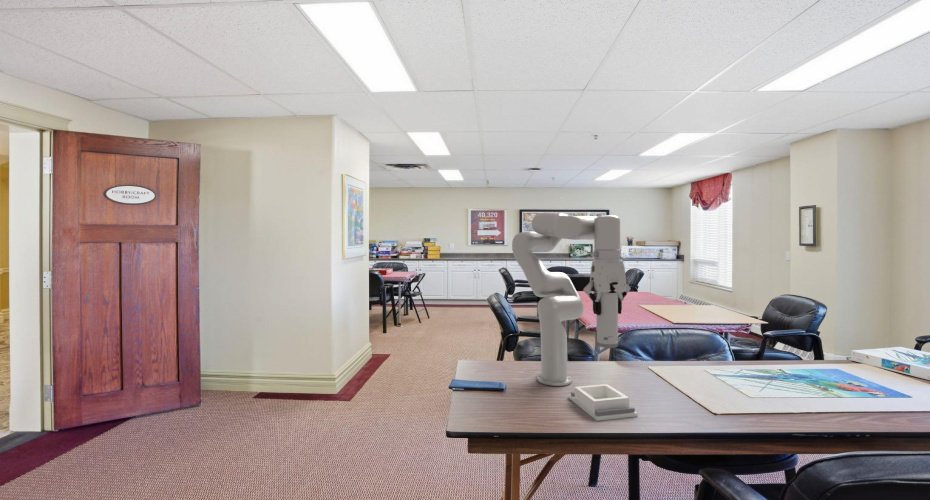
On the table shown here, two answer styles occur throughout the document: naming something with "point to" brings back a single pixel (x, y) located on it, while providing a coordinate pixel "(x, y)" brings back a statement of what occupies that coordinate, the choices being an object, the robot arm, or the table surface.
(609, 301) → the travel mug
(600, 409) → the white rectangular tray
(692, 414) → the table surface
